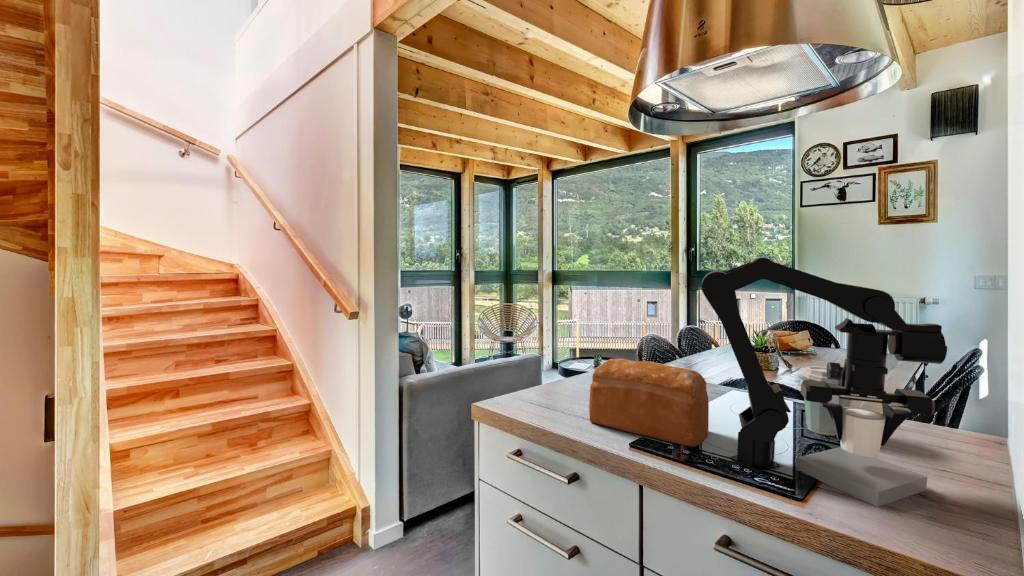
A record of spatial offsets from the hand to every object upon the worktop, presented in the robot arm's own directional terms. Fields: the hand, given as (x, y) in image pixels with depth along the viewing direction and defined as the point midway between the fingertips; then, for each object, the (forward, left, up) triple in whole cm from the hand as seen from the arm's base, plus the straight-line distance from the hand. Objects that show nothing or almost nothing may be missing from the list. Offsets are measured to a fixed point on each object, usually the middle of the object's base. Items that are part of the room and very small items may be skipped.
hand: (859, 442), depth 85 cm
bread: (-19, +36, -7) cm, 41 cm away
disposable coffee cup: (+18, +18, -7) cm, 26 cm away
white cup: (0, 0, -2) cm, 2 cm away
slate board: (0, 0, -7) cm, 7 cm away
